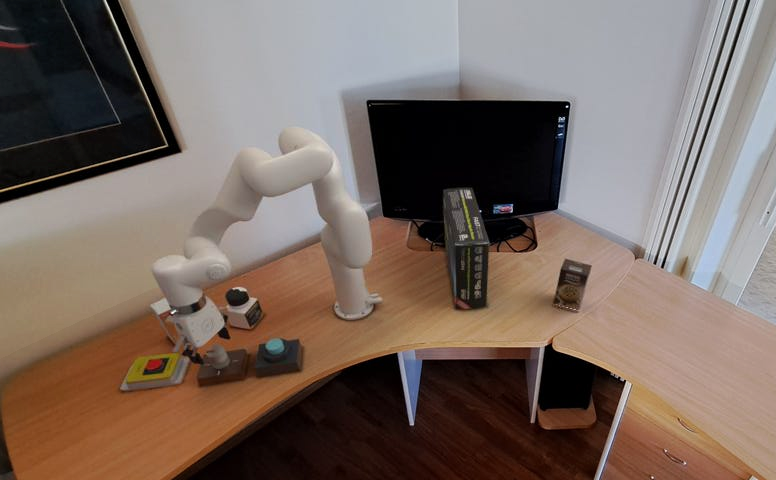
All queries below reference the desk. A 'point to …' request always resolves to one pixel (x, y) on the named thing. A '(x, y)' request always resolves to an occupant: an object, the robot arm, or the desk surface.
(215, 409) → the desk surface
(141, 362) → the emergency button
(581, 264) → the coffee box
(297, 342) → the button housing
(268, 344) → the teal button cap
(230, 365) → the rotary knob switch
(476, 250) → the router box
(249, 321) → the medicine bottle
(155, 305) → the small box
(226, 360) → the dial
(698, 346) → the desk surface
